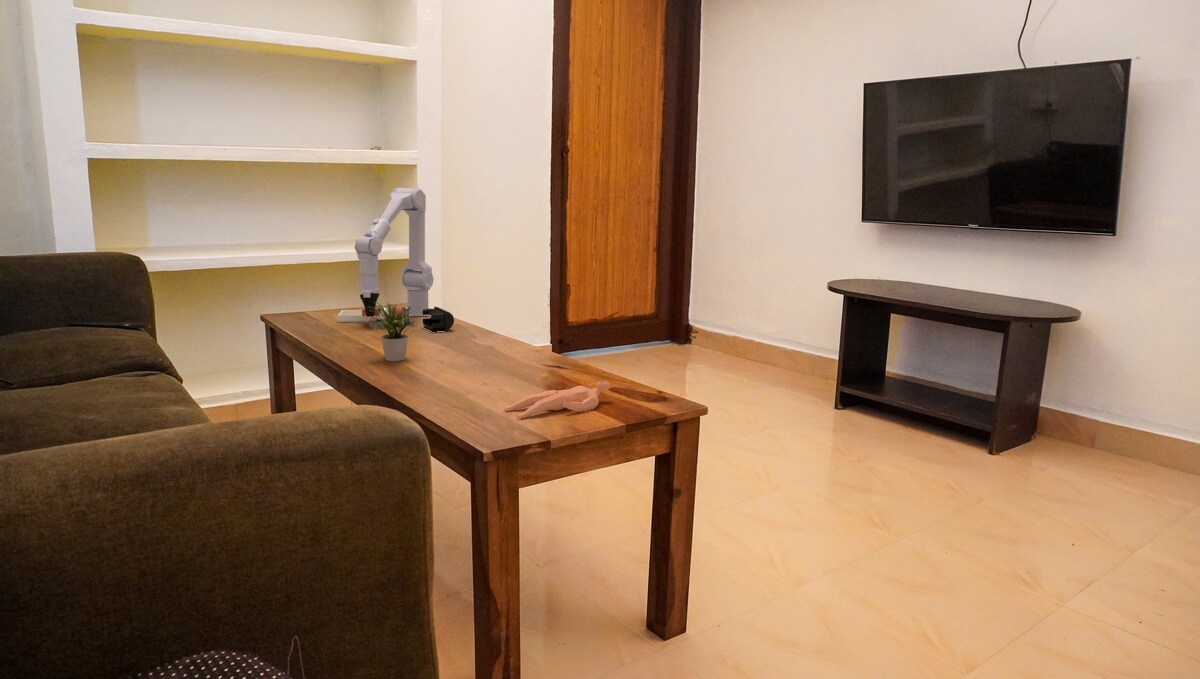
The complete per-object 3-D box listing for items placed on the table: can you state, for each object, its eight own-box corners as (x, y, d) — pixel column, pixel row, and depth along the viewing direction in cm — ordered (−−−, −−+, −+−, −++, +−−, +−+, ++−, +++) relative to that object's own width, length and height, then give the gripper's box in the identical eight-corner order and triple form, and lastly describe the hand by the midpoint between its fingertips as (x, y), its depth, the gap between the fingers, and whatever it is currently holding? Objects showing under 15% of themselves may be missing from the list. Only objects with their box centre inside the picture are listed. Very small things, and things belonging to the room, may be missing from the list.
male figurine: (498, 395, 171) (595, 373, 184) (500, 416, 172) (596, 393, 185) (522, 408, 162) (621, 383, 175) (523, 431, 163) (622, 405, 176)
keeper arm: (402, 315, 259) (402, 309, 259) (401, 316, 257) (401, 310, 256) (363, 314, 257) (362, 308, 257) (361, 316, 255) (361, 310, 254)
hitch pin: (378, 324, 256) (378, 303, 255) (390, 324, 257) (389, 303, 255) (377, 327, 253) (376, 305, 251) (388, 327, 253) (388, 305, 252)
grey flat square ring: (372, 323, 258) (372, 318, 258) (397, 323, 259) (397, 318, 259) (369, 328, 250) (369, 322, 250) (395, 328, 252) (395, 322, 251)
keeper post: (401, 323, 260) (400, 306, 259) (413, 323, 261) (413, 306, 260) (400, 325, 257) (399, 308, 255) (412, 325, 257) (412, 308, 256)
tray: (342, 317, 267) (342, 310, 266) (371, 317, 268) (370, 310, 268) (337, 322, 257) (337, 315, 257) (367, 322, 259) (367, 315, 258)
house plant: (351, 360, 209) (349, 299, 206) (388, 350, 221) (386, 293, 218) (392, 367, 203) (391, 305, 199) (427, 357, 215) (427, 298, 211)
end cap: (454, 331, 250) (454, 310, 249) (433, 333, 246) (432, 312, 245) (443, 326, 258) (442, 305, 257) (422, 327, 255) (421, 307, 253)
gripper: (359, 271, 256) (360, 312, 259) (352, 277, 242) (354, 320, 245) (381, 271, 258) (382, 312, 260) (376, 277, 244) (377, 320, 246)
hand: (370, 316), depth 253 cm, fingers closed
